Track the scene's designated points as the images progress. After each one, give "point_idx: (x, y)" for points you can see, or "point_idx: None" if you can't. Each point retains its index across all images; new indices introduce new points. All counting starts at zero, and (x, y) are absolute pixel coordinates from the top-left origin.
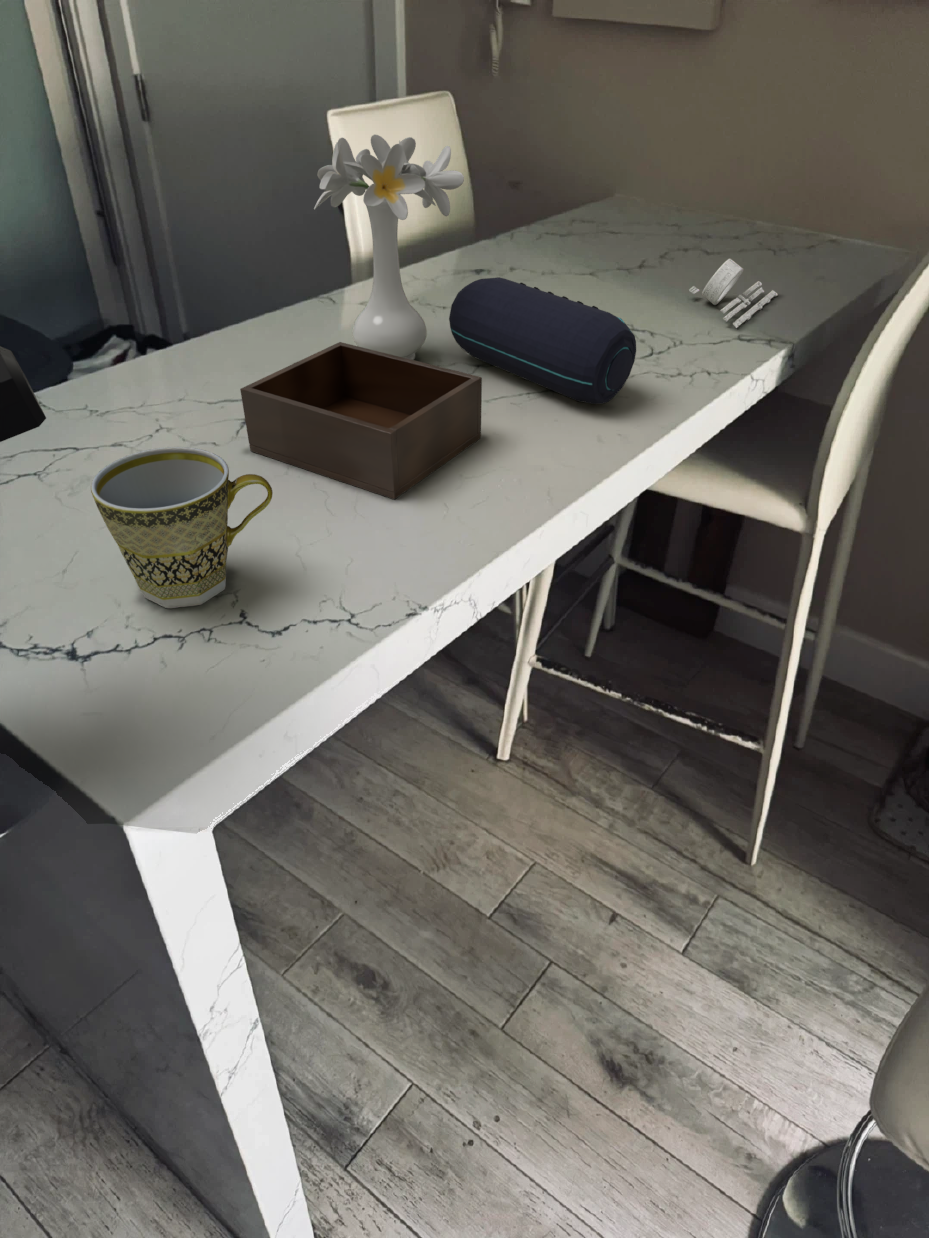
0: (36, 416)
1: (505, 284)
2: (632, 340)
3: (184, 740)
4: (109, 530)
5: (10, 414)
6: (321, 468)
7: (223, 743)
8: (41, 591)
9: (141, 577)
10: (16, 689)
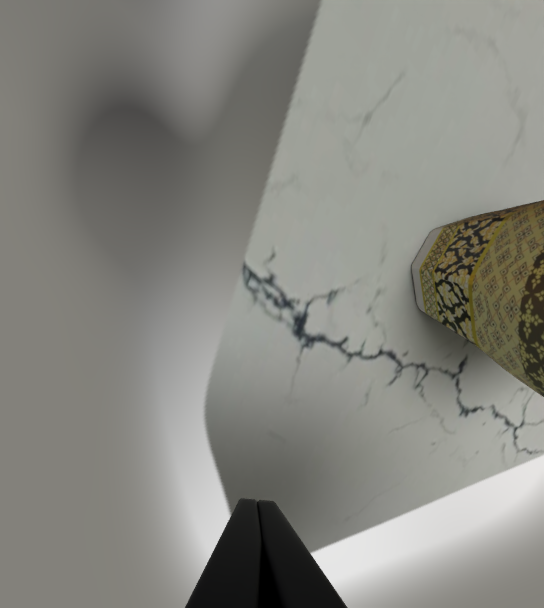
0: None
1: None
2: None
3: (327, 511)
4: (490, 292)
5: None
6: None
7: (350, 528)
8: (322, 149)
9: (437, 295)
10: (223, 352)
